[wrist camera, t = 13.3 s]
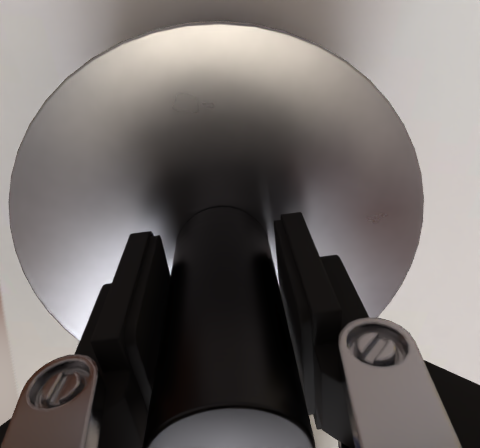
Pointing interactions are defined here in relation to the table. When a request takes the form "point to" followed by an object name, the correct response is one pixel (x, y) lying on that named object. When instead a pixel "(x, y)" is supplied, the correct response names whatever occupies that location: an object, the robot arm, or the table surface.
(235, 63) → the lid
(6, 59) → the table surface
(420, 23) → the table surface
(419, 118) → the table surface
